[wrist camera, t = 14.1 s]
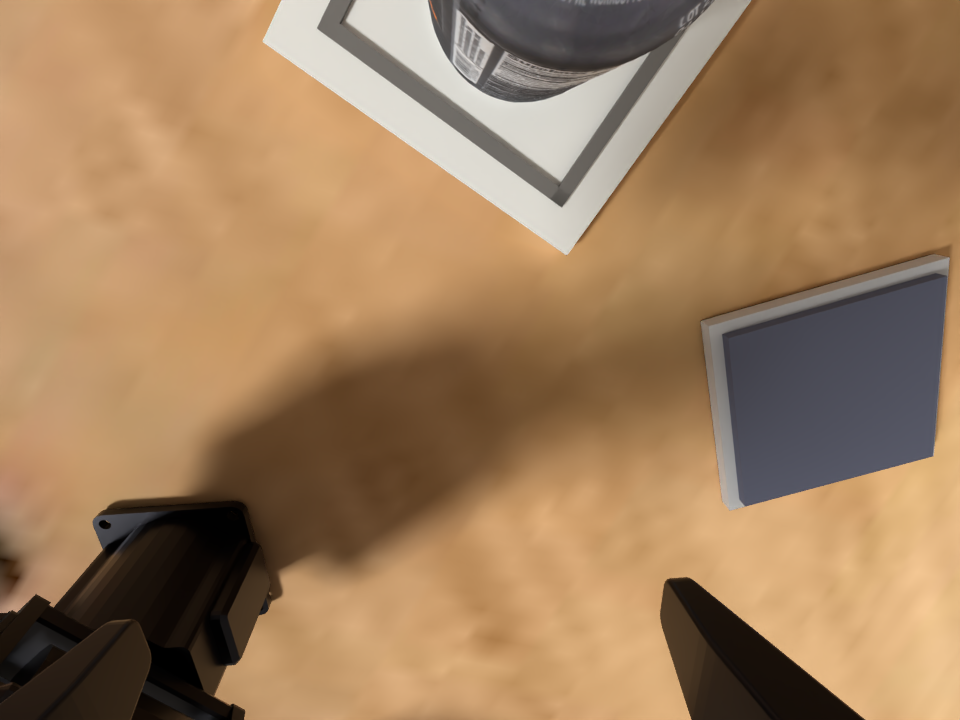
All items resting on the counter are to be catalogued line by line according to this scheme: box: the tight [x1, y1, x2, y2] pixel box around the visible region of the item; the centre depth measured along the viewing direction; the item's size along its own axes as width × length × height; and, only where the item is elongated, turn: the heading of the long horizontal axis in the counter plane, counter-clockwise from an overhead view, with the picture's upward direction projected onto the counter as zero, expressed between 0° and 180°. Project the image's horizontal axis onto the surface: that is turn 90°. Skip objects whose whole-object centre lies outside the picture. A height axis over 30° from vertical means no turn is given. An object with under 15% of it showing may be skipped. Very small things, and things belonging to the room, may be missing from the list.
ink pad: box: [701, 254, 950, 510], centre depth 22 cm, size 10×10×1 cm
